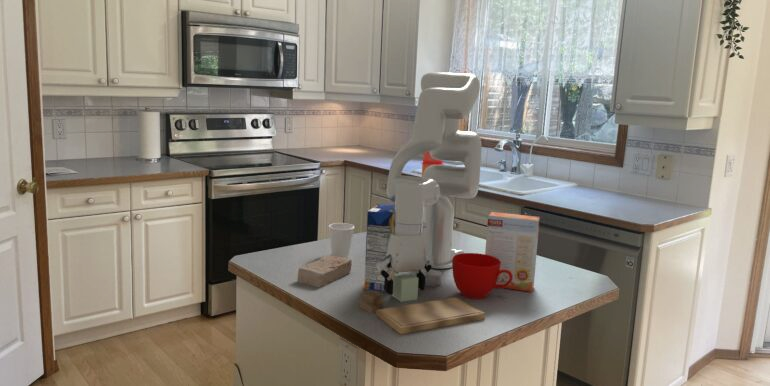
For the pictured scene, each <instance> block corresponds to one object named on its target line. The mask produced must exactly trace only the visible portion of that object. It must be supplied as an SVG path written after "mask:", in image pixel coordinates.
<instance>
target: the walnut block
mask: <svg viewBox="0 0 770 386" xmlns="http://www.w3.org/2000/svg"><path fill="white" fill-rule="evenodd" d="M383 307H384V293H382V292H379V291H373V290H367V291H365V292H362V293H360V305H359V308H360V310H362V311H365V312H368V313H371V314H373V313H376V310H378V309H384V308H383Z"/></svg>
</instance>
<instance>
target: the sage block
mask: <svg viewBox="0 0 770 386" xmlns="http://www.w3.org/2000/svg"><path fill="white" fill-rule="evenodd" d="M418 279H419V278H418V277H417V275H414V274H412V273H411V272H410V271H408V272H399V274H395V275H394V277H393V294H392V295H391V297H392V298H395V300H398V301H399V302H401V303H402V302H407V301H408V302H410V301H416V300H418V296H419V295H418V293H419V291H418V290H419V289H418Z"/></svg>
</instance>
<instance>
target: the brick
mask: <svg viewBox="0 0 770 386" xmlns="http://www.w3.org/2000/svg"><path fill="white" fill-rule="evenodd" d="M352 261H353V260H352V259H351V258H349V257H347V258H345V257H339V256H332V254H328V255H325V256H322V257H321V258H319V259H318V260H315V261H313V262H310V263H307V264H304V265H302V266H301V267H299V268H298V271H297V277H296V278H297V282H298V283H300V284H304V285H309V286H312V287H316V288H322V287H324V286H326V285H327V284H330V283H332V282H334V281H336V280H339V279H340V278H343V277H345V276H346V275H348V274H349V273H351V271H352Z"/></svg>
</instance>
